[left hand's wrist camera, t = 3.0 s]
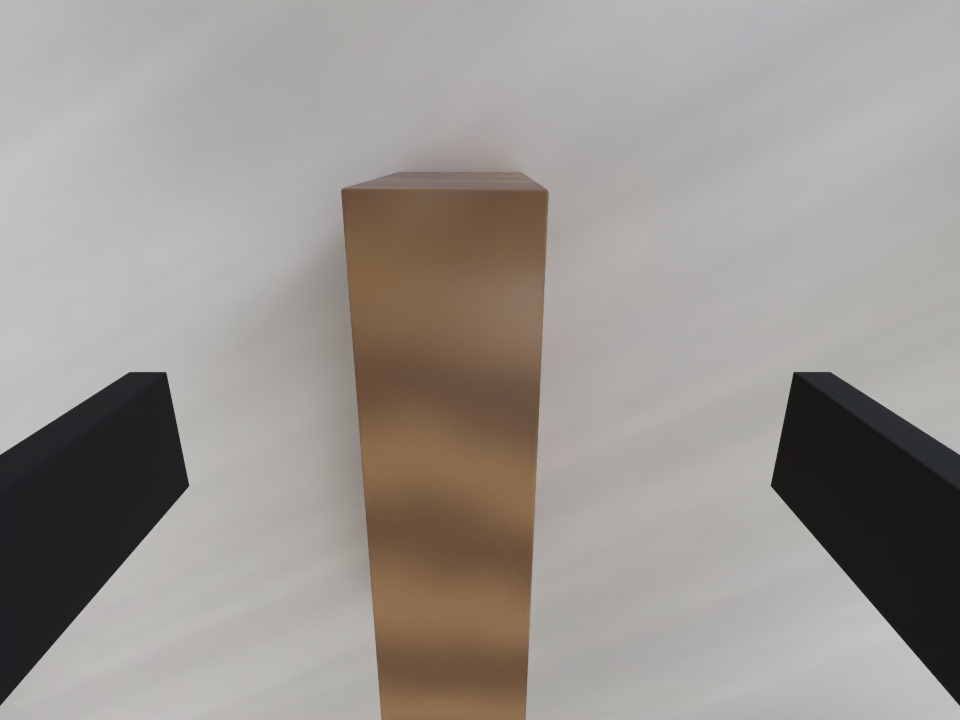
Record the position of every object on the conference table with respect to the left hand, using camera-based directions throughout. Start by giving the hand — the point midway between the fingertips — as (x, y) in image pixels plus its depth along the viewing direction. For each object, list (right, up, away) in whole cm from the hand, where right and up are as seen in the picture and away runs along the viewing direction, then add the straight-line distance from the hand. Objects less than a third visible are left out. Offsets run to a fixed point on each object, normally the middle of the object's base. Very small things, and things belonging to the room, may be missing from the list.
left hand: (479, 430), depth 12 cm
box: (-1, -1, +20) cm, 20 cm away
